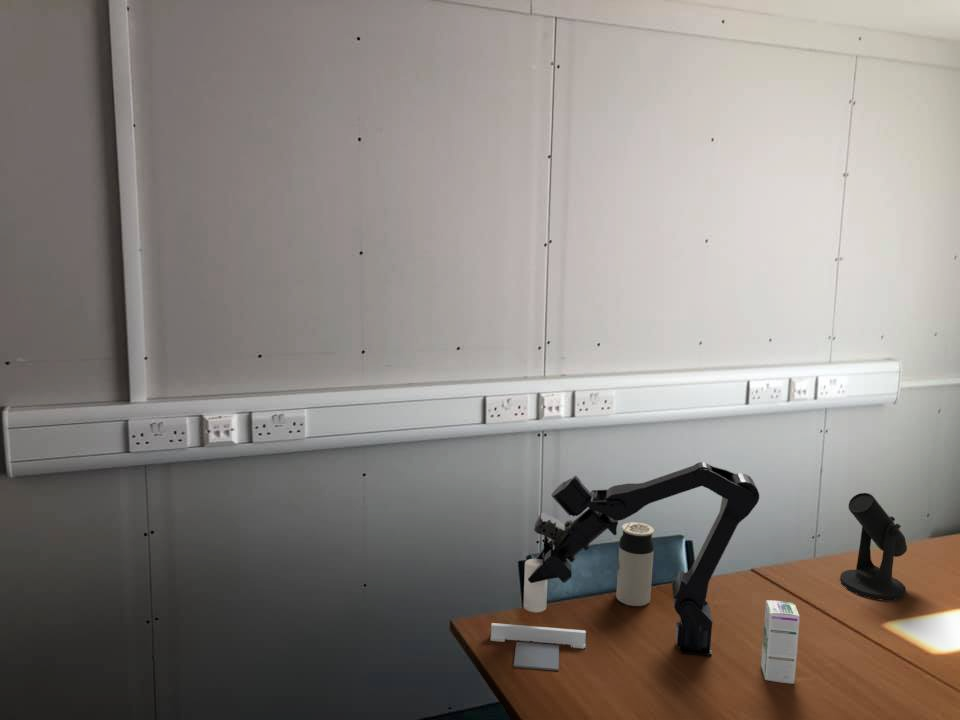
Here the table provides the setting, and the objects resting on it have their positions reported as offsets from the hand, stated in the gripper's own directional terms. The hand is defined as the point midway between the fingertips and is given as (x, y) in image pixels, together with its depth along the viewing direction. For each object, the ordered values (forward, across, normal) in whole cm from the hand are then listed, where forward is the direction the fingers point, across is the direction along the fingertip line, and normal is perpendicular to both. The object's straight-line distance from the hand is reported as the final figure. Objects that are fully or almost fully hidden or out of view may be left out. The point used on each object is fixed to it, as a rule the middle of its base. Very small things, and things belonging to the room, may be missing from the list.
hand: (529, 575), depth 167 cm
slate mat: (+7, +11, +10) cm, 17 cm away
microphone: (-51, -35, +70) cm, 93 cm away
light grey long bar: (+7, +5, +10) cm, 14 cm away
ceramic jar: (+4, 0, +6) cm, 7 cm away
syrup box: (-26, +10, +45) cm, 53 cm away
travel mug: (-8, -18, +26) cm, 33 cm away
